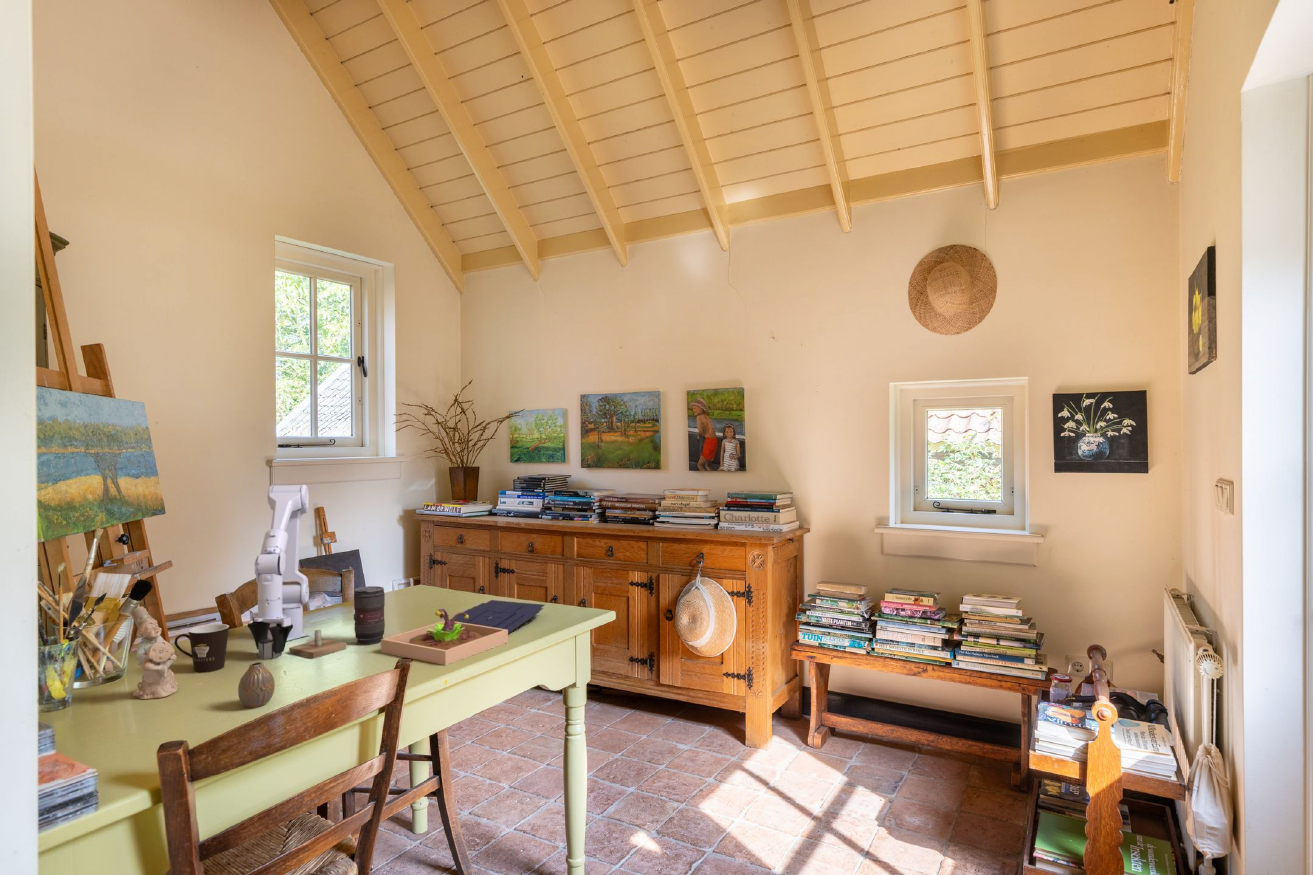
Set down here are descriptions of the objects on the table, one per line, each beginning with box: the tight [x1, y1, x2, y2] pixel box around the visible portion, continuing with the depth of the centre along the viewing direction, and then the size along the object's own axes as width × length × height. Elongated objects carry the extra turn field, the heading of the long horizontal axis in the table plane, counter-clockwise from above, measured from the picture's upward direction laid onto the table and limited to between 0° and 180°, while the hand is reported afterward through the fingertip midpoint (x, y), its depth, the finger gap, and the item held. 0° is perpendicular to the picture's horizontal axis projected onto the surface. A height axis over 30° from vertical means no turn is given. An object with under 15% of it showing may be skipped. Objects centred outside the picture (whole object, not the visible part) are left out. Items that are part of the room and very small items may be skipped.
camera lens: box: [353, 585, 386, 646], centre depth 204 cm, size 8×8×15 cm
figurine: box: [130, 606, 179, 700], centre depth 162 cm, size 9×8×20 cm
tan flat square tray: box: [380, 620, 509, 666], centre depth 198 cm, size 24×24×4 cm
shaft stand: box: [288, 629, 347, 659], centre depth 195 cm, size 10×10×6 cm
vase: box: [237, 661, 276, 709], centre depth 155 cm, size 7×7×9 cm
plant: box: [409, 608, 484, 650], centre depth 198 cm, size 20×20×11 cm
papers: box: [449, 599, 545, 634], centre depth 223 cm, size 24×30×4 cm
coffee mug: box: [174, 623, 230, 674], centre depth 181 cm, size 12×9×10 cm
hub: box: [257, 638, 283, 660], centre depth 190 cm, size 5×5×4 cm
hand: (270, 650), depth 190 cm, fingers open, 7 cm apart
